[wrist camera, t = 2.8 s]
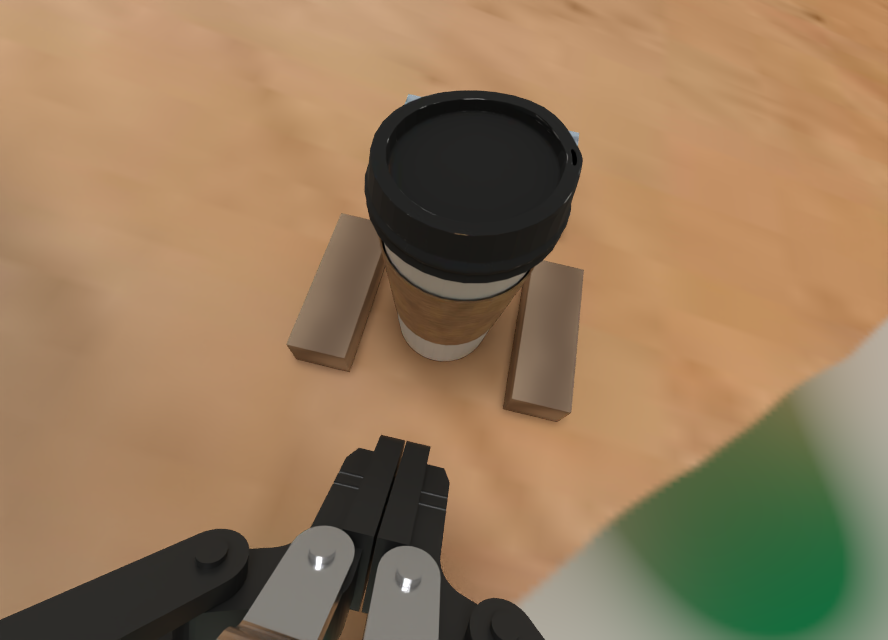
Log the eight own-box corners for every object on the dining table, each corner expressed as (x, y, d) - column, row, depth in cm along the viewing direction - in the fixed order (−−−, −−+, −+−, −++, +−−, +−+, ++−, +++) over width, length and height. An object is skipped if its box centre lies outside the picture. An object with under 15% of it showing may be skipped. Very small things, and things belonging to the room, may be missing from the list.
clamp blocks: (296, 359, 27) (286, 344, 25) (346, 235, 31) (341, 213, 29) (556, 421, 27) (571, 412, 24) (570, 288, 31) (583, 269, 29)
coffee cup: (505, 384, 27) (603, 253, 14) (374, 375, 27) (343, 231, 13) (502, 273, 31) (579, 83, 17) (387, 264, 30) (373, 60, 17)
